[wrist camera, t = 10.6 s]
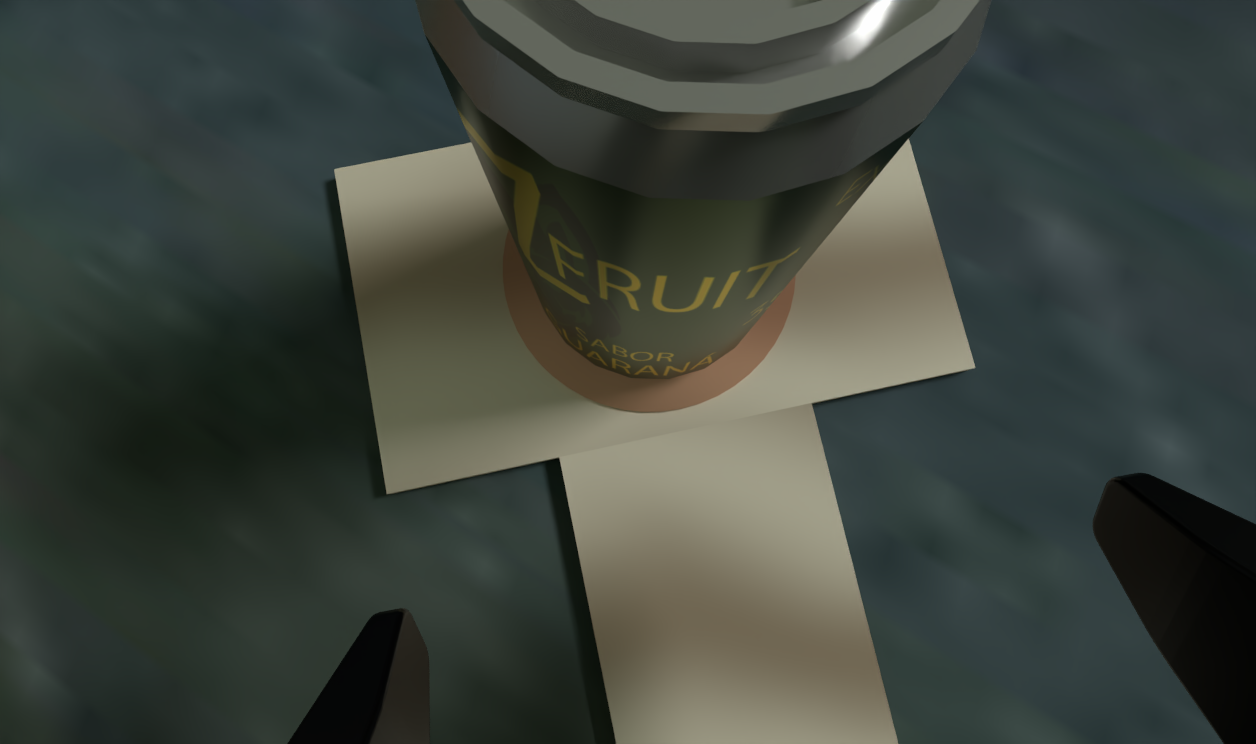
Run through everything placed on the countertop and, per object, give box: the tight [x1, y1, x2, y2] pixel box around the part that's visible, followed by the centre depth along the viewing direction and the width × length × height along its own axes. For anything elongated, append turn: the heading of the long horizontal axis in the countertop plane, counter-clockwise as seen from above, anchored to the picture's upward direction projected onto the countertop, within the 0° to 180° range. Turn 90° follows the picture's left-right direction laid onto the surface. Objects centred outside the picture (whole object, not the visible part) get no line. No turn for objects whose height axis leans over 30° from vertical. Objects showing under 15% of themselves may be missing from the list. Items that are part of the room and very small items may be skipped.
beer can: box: [415, 0, 991, 379], centre depth 11 cm, size 5×5×12 cm
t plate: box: [334, 139, 975, 744], centre depth 17 cm, size 18×14×1 cm
